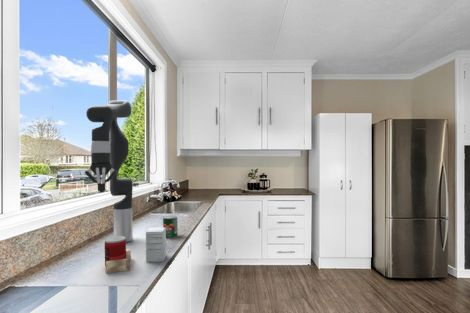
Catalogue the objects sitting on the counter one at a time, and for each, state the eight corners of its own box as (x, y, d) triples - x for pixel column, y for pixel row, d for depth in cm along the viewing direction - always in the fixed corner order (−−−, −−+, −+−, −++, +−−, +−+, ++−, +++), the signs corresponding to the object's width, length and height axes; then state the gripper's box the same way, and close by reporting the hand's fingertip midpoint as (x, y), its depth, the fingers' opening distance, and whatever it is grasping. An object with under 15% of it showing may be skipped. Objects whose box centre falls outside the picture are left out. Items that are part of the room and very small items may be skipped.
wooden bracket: (105, 273, 104) (105, 262, 104) (109, 261, 116) (109, 252, 116) (130, 269, 107) (129, 259, 107) (130, 258, 119) (130, 249, 119)
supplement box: (149, 256, 122) (149, 227, 122) (166, 255, 123) (166, 226, 123) (145, 262, 115) (145, 231, 115) (163, 261, 116) (163, 231, 116)
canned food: (130, 263, 114) (129, 236, 114) (117, 270, 107) (116, 242, 107) (114, 261, 116) (113, 235, 116) (100, 269, 109) (100, 240, 109)
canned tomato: (163, 239, 149) (162, 218, 149) (163, 235, 156) (162, 215, 156) (178, 237, 151) (177, 217, 151) (177, 234, 158) (177, 214, 158)
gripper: (118, 152, 126) (118, 190, 125) (85, 152, 121) (85, 192, 121) (117, 151, 118) (117, 192, 118) (82, 151, 114) (82, 194, 114)
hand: (101, 192), depth 120 cm, fingers closed
